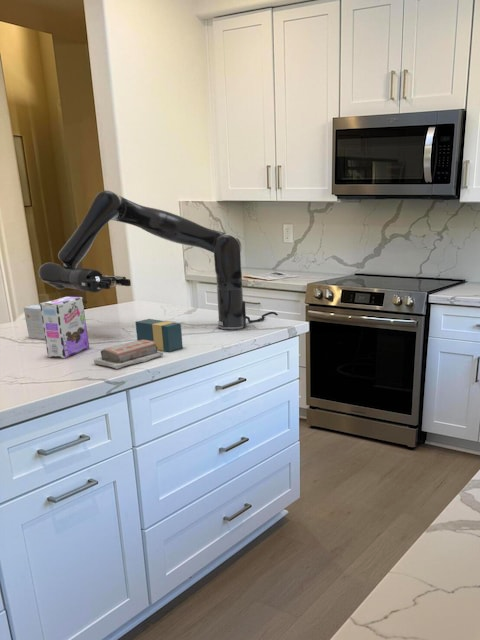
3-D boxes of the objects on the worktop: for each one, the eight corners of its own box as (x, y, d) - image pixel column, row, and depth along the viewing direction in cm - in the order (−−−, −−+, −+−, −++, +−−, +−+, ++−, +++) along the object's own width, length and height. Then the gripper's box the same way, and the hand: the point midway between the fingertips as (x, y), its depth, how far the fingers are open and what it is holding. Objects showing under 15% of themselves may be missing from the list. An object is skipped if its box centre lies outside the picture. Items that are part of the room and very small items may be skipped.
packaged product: (139, 336, 189) (162, 341, 184) (140, 352, 191) (163, 356, 186) (91, 348, 175) (114, 353, 170) (93, 364, 177) (116, 369, 172)
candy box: (64, 358, 182) (56, 303, 176) (47, 357, 183) (38, 302, 177) (90, 348, 195) (83, 296, 189) (73, 347, 196) (66, 295, 190)
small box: (58, 336, 209) (53, 306, 205) (45, 340, 205) (40, 308, 201) (41, 334, 212) (36, 304, 208) (28, 337, 208) (23, 306, 204)
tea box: (137, 346, 198) (135, 321, 195) (151, 342, 203) (149, 318, 200) (169, 352, 191) (167, 326, 188) (182, 348, 196) (180, 323, 193)
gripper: (66, 270, 198) (100, 274, 190) (101, 266, 209) (135, 270, 202) (69, 293, 201) (103, 298, 193) (104, 288, 212) (137, 293, 205)
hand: (119, 284), depth 198 cm, fingers open, 8 cm apart
